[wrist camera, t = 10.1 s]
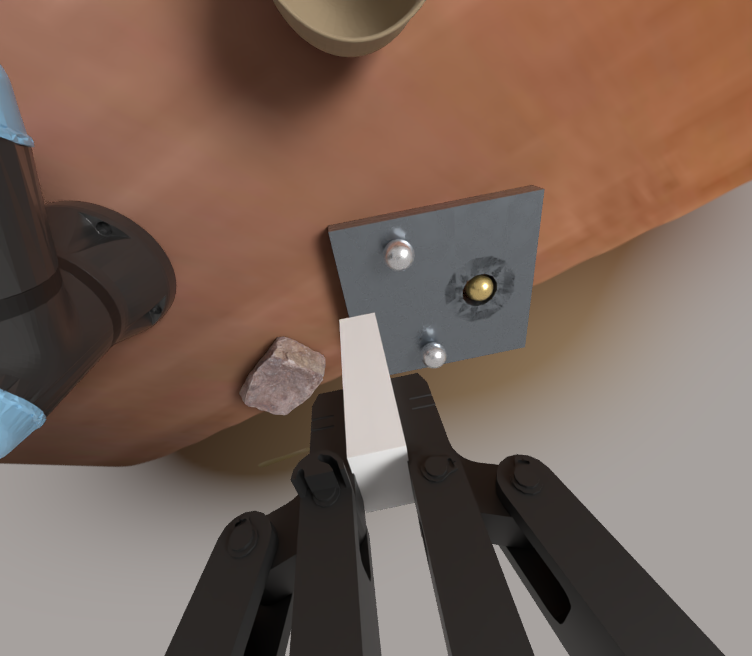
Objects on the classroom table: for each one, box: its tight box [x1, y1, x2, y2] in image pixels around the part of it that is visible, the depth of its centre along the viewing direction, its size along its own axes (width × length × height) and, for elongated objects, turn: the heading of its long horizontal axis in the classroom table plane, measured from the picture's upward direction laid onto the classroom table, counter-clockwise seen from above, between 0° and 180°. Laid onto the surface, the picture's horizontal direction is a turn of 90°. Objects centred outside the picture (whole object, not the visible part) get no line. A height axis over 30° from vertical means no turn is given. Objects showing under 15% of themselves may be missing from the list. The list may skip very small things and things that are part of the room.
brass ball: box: [465, 274, 493, 301], centre depth 42 cm, size 4×4×4 cm
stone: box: [239, 337, 325, 415], centre depth 46 cm, size 9×12×5 cm
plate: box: [328, 185, 544, 375], centre depth 42 cm, size 24×22×2 cm
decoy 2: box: [420, 342, 447, 368], centre depth 44 cm, size 4×4×4 cm
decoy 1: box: [383, 239, 415, 272], centre depth 36 cm, size 4×4×4 cm
